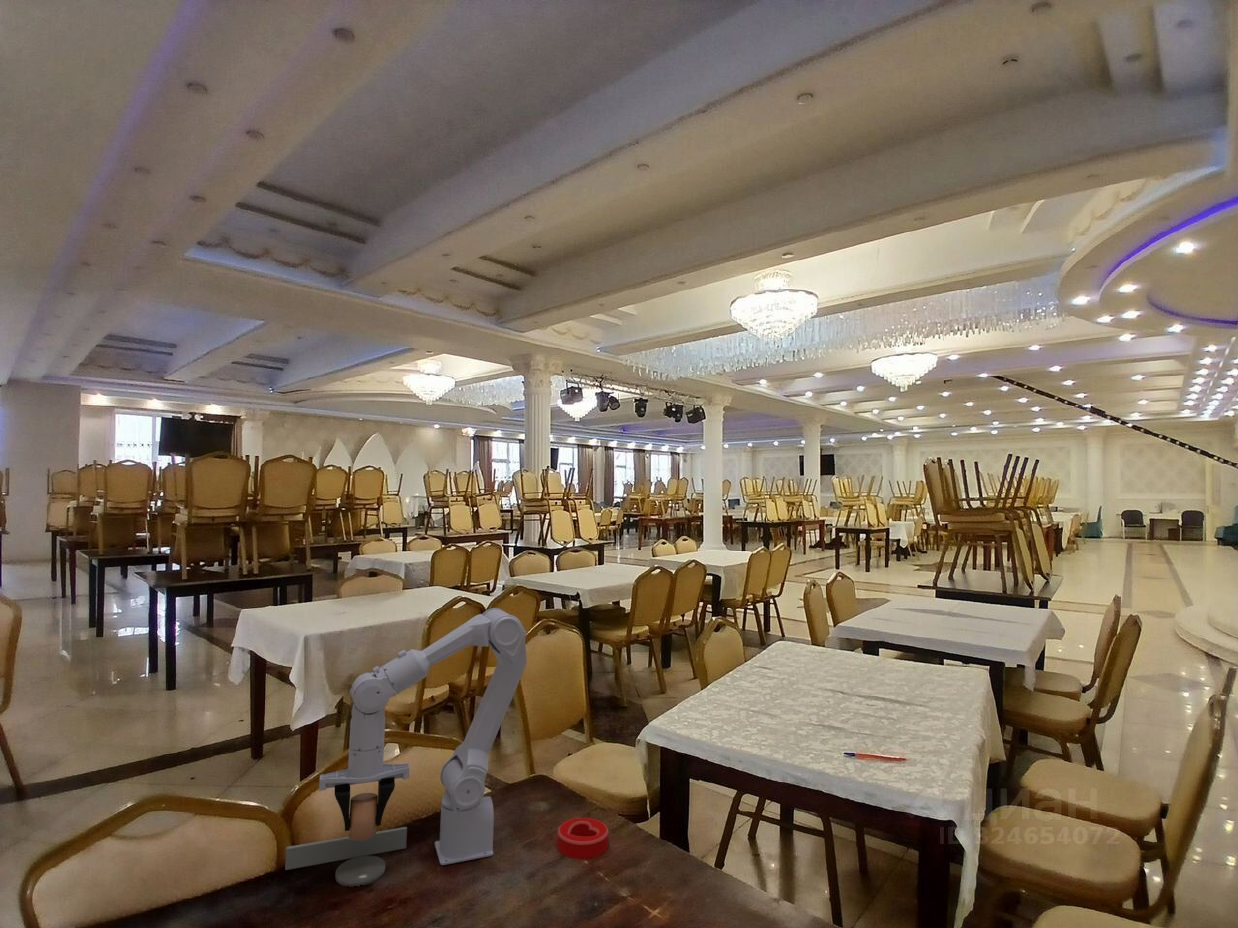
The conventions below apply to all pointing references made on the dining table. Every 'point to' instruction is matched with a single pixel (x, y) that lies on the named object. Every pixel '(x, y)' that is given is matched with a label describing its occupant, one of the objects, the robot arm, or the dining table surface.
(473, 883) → the dining table surface
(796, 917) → the dining table surface
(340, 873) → the slate coaster
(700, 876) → the dining table surface
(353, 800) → the terracotta cylinder
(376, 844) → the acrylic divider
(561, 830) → the decorative ornament
